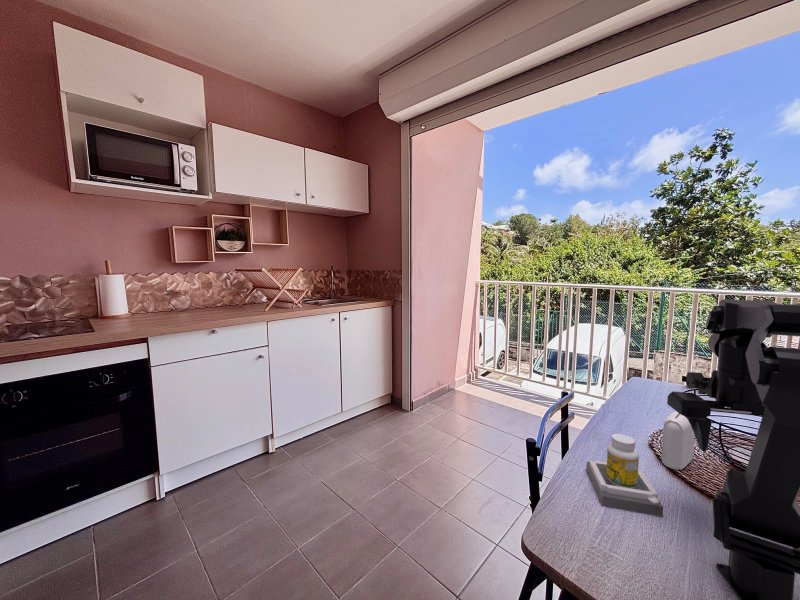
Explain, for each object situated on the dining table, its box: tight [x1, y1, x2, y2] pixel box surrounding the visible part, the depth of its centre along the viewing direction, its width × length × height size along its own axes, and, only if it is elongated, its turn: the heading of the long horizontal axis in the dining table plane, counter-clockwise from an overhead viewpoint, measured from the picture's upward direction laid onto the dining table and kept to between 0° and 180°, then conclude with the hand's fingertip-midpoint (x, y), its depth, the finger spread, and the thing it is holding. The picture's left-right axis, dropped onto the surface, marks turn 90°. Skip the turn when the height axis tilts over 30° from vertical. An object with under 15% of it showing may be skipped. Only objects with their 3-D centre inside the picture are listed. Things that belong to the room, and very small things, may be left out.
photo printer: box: [661, 410, 696, 471], centre depth 76 cm, size 10×4×12 cm, turn 123°
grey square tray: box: [586, 460, 664, 517], centre depth 66 cm, size 12×10×3 cm
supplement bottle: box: [606, 433, 640, 489], centre depth 66 cm, size 5×5×10 cm
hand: (734, 454), depth 57 cm, fingers open, 9 cm apart
